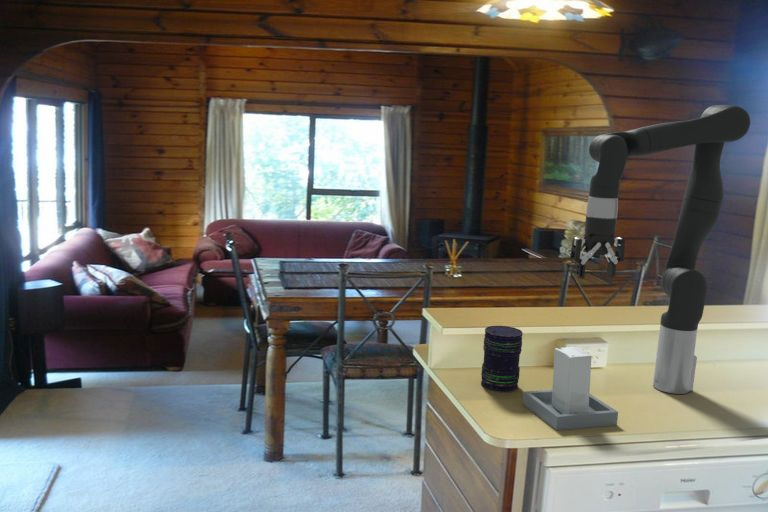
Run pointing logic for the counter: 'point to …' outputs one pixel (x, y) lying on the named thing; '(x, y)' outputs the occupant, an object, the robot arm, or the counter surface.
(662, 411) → the counter surface
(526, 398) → the tray
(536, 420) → the counter surface
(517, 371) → the dark blue barrel
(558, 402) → the skincare box
